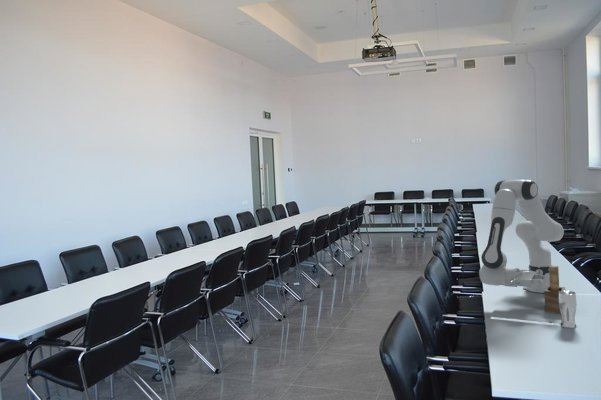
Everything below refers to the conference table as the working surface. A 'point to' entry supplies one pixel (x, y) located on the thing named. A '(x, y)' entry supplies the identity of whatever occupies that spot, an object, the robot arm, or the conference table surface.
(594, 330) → the conference table surface
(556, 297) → the socket block
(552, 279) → the dowel
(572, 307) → the beer glass
